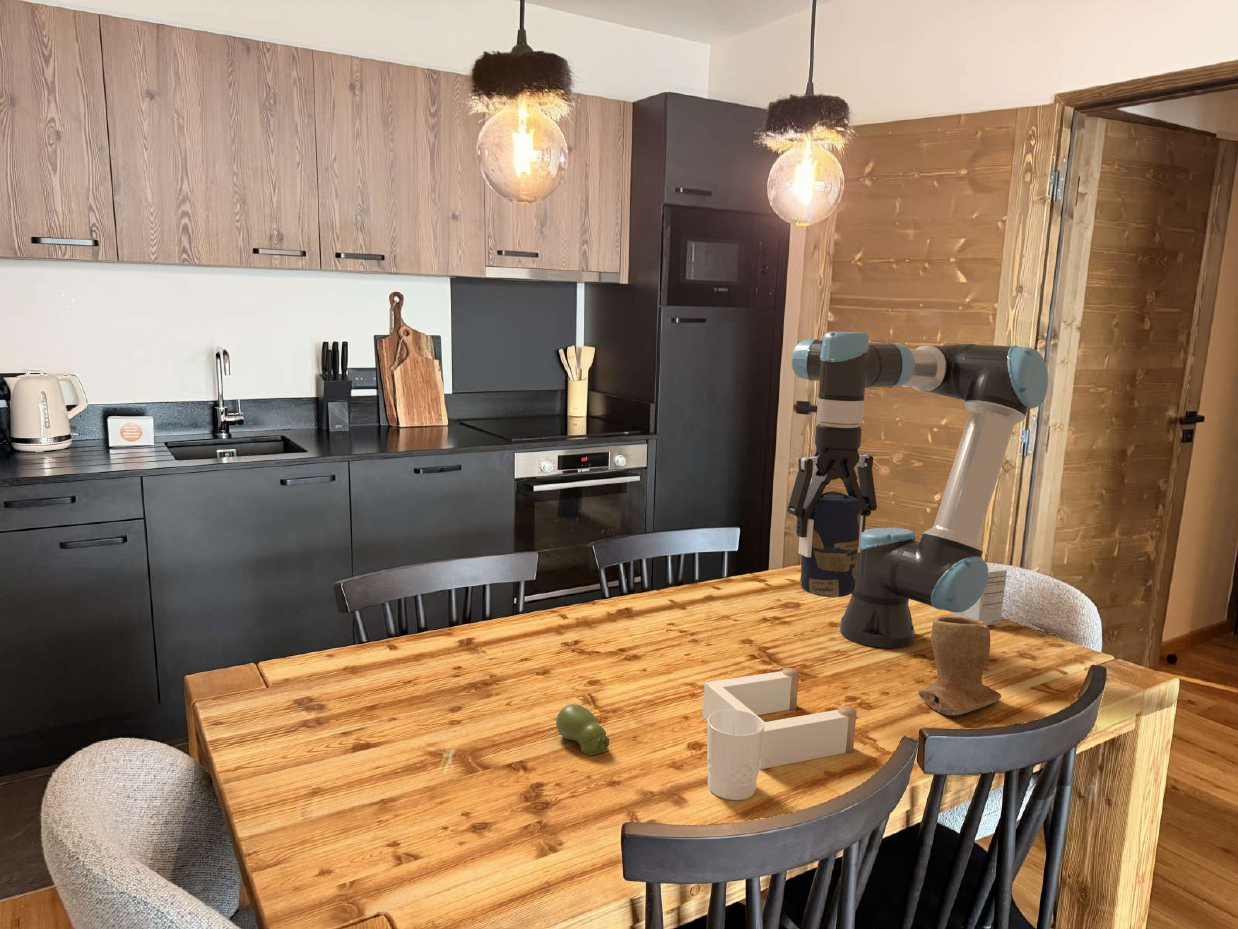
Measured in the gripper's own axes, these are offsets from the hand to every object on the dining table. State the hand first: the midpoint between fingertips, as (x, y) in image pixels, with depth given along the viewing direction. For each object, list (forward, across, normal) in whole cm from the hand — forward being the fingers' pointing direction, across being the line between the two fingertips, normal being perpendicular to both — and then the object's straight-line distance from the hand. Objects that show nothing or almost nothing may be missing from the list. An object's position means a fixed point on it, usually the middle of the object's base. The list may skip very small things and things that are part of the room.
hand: (829, 552), depth 150 cm
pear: (+26, +46, +3) cm, 53 cm away
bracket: (+26, +14, +10) cm, 31 cm away
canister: (+7, 0, 0) cm, 7 cm away
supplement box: (+27, -58, -22) cm, 68 cm away
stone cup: (+27, -22, +10) cm, 36 cm away
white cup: (+26, +30, +22) cm, 46 cm away
